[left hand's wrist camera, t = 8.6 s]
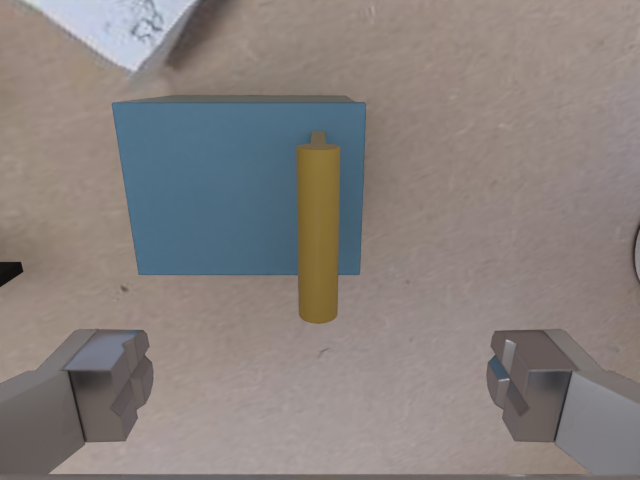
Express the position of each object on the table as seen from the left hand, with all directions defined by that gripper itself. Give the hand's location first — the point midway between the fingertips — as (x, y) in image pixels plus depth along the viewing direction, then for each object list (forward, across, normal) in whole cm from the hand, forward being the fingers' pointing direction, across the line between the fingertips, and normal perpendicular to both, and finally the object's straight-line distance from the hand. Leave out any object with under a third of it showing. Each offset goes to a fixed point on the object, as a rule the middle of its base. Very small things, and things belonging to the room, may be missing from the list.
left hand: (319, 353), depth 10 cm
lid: (+16, -4, 0) cm, 16 cm away
